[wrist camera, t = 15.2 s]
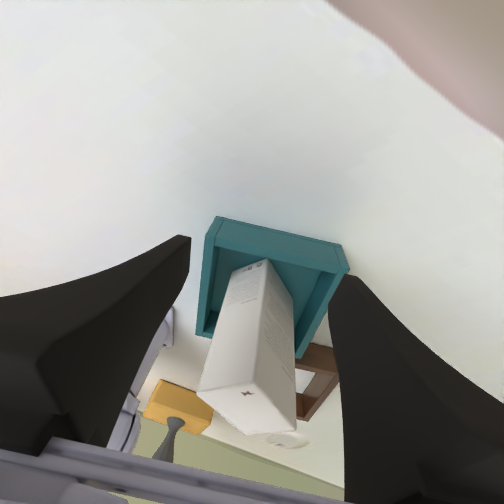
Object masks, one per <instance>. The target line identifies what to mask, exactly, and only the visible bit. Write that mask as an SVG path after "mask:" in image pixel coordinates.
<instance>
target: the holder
mask: <svg viewBox="0 0 504 504" xmlns="http://www.w3.org/2000/svg"><path fill="white" fill-rule="evenodd" d="M295 368H298V369H302V370H307V371H311V372H315V373H316V375H315V376H314V378H313V379H312V381H311V383H310V384H309V386H308V387H307V389H306V390H305V392H304V393H303V394H299V393H296V419H298V420H303V421H307V422H308V421H309V420H310V419H311V417H312V416H313V415H314V413H315V412H316V411H317V410H318V408H319V407H320V406H321V404H322V403H323V402H324V401H325V399H326V398H327V397H328V395H329V394H330V393H331V392H332V390H333V389H334V388H335V386H336V385H337V384H338V383H339V375H338V369H337V364H336V359H335V354H334V349H332V348H329V347H325V346H321V345H316V344H312V343H309V345H308V347H307V348H306V350H305V352H304V354H303V356H302V358H301V359H298V358H295Z"/></svg>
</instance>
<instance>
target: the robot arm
mask: <svg viewBox="0 0 504 504" xmlns="http://www.w3.org/2000/svg"><path fill="white" fill-rule="evenodd" d="M190 251H191V237H187V236H183V235H179V234H178V235H176V236H174V237H173V238H171V239H169V240H167V241H165V242H164V243H162V244H160V245H158V246H156V247H154V248H153V249H151V250H149V251H147V252H145V253H143V254H141V255H139V256H137V257H135V258H132V259H130V260H128V261H126V262H124V263H122V264H119V265H117V266H114V267H112V268H109V269H107V270H104V271H101V272H99V273H96V274H93V275H90V276H86V277H83V278H80V279H77V280H73V281H70V282H67V283H63V284H59V285H55V286H51V287H48V288H43V289H39V290H35V291H30V292H25V293H21V294H16V295H10V296H5V297H0V504H128V501H127V500H126V499H123V498H121V497H118V496H116V495H112V494H110V493H108V492H114V493H119V494H123V495H128V496H132V497H136V498H141V499H146V500H150V501H155V502H159V503H164V504H504V404H503V403H502V402H500V401H499V400H497V399H496V398H494V397H493V396H491V395H490V394H488V393H487V392H485V391H484V390H483V389H481V388H480V387H478V386H477V385H476V384H474V383H473V382H471V381H470V380H469V379H467V378H466V377H464V376H463V375H462V374H461V373H459V372H458V371H457V370H455V369H454V368H453V367H451V366H450V365H449V364H448V363H446V362H445V361H444V360H443V359H441V358H440V357H439V356H438V355H436V354H435V353H434V352H433V351H432V350H431V349H429V348H428V347H427V346H426V345H425V344H424V343H422V342H421V341H420V340H419V339H418V338H417V337H416V336H415V335H414V334H412V333H411V332H410V331H409V330H408V329H407V328H406V327H405V326H404V325H403V324H402V323H401V322H400V321H399V320H398V319H397V318H396V317H395V316H394V315H393V314H392V313H391V312H390V311H389V309H388V308H387V307H386V306H385V305H384V304H383V303H382V302H381V301H380V300H379V299H378V298H377V297H376V295H375V294H374V293H373V292H372V291H371V290H370V289H369V288H368V287H367V286H366V285H365V284H364V282H363V281H362V280H361V279H359V278H358V277H357V276H353V275H348V274H344V275H343V277H342V279H341V281H340V283H339V285H338V287H337V288H336V290H335V292H334V294H333V296H332V298H331V299H330V301H329V303H328V320H329V328H330V334H331V339H332V344H333V349H334V354H335V359H336V364H337V369H338V375H339V382H340V392H341V403H342V418H343V437H344V483H345V496H344V501H339V500H334V499H331V498H326V497H321V496H317V495H313V494H308V493H304V492H299V491H294V490H290V489H286V488H281V487H277V486H272V485H267V484H263V483H259V482H254V481H250V480H245V479H241V478H237V477H232V476H228V475H223V474H218V473H214V472H210V471H205V470H201V469H196V468H192V467H187V466H183V465H178V464H174V463H170V462H165V461H161V460H156V459H152V458H147V457H142V456H138V455H134V454H132V452H133V450H134V448H135V445H136V443H137V440H138V437H139V433H140V429H141V424H140V414H139V413H137V412H136V410H137V408H138V406H139V403H140V401H139V400H137V399H136V398H137V396H138V394H139V392H140V389H141V387H142V385H143V383H144V381H145V379H146V377H147V375H148V373H149V371H150V369H151V367H152V365H153V363H154V361H155V359H156V357H157V355H158V353H159V351H160V349H161V347H167V348H171V347H172V345H173V308H172V305H173V303H174V302H175V300H176V298H177V297H178V295H179V293H180V291H181V290H182V287H183V285H184V283H185V281H186V278H187V276H188V273H189V266H190Z"/></svg>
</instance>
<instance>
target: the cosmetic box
mask: <svg viewBox="0 0 504 504" xmlns="http://www.w3.org/2000/svg"><path fill="white" fill-rule="evenodd" d="M196 395H197V396H198V397H200V398H201V399H202V400H203V401H205V402H206V403H207V404H208V405H210V406H211V407H212V408H213V409H214V410H216V411H217V412H218V413H219V414H220V415H221V416H222V417H224V418H225V419H226V420H227V421H228V422H229V423H231V424H232V425H233V426H234V427H235V428H237V429H238V430H239V431H240V432H241V433H242V434H243V435H251V434H262V433H276V432H292V431H295V430H296V429H297V424H296V387H295V351H294V318H293V298H292V296H291V295H290V293H289V292H288V290H287V288H286V287H285V285H284V283H283V282H282V280H281V278H280V277H279V275H278V273H277V272H276V270H275V268H274V267H273V265H272V263H271V262H270V260H269V259H268V258H266V259H263V260H261V261H258V262H255V263H253V264H250V265H248V266H245V267H242V268H240V269H237V270H234V271H233V272H232V274H231V277H230V281H229V284H228V288H227V291H226V294H225V298H224V301H223V304H222V308H221V311H220V314H219V318H218V321H217V324H216V328H215V331H214V335H213V338H212V341H211V345H210V348H209V351H208V355H207V358H206V361H205V365H204V368H203V372H202V375H201V378H200V382H199V385H198V388H197V392H196Z"/></svg>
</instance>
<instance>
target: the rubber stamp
mask: <svg viewBox="0 0 504 504" xmlns="http://www.w3.org/2000/svg"><path fill="white" fill-rule="evenodd" d="M213 411H214V409H213V408H212V407H211V406H210V405H208V404H207V403H206V402H205V401H203V400H202V399H201V398H200V397H198V396H197V395H196V393H195V392H193V391H190V390H187V389H185V388H182V387H179V386H177V385H174V384H171V383H169V382H166V381H163V380H161V379H160V381H159V383H158V384H157V386H156V388H155V389H154V391H153V393H152V395H151V398H150V400H149V402H148V404H147V406H146V409H145V411H144V413H143V415H144V417H146V418H149V419H152V420H155V421H158V422H160V423H163V424H166V425H168V427H169V431H168V434H167V436H166V438H165V440H164V442H163V443H162V444H161V446H160V447H159V448H158V450H157V451H156V452H155V454H154V455H153V457H152V459H156V460H161V461H165V462H170V463H173V455H174V439H175V435H176V432H177V431H178V430H179V429H181V430H184V431H187V432H190V433H192V434H195V435H199V434H200V433H201V432H202V431H204V430H205V429H206V428H207V427H208V426H209V425H210V423H211V420H212V416H213Z"/></svg>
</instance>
